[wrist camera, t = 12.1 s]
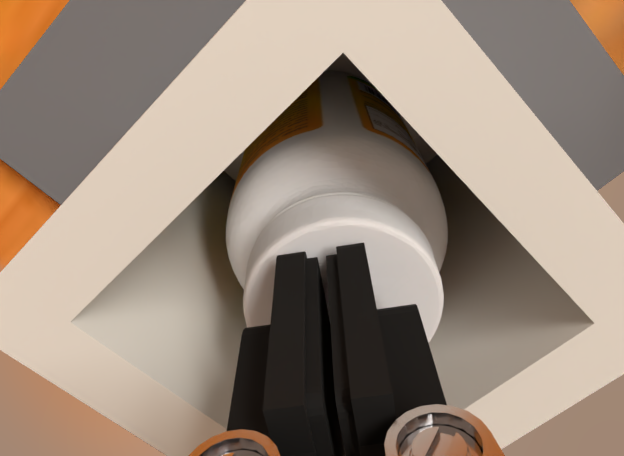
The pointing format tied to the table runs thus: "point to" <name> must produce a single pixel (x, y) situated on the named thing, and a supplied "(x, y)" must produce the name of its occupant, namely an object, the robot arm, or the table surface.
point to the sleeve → (213, 218)
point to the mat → (206, 23)
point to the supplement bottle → (339, 199)
